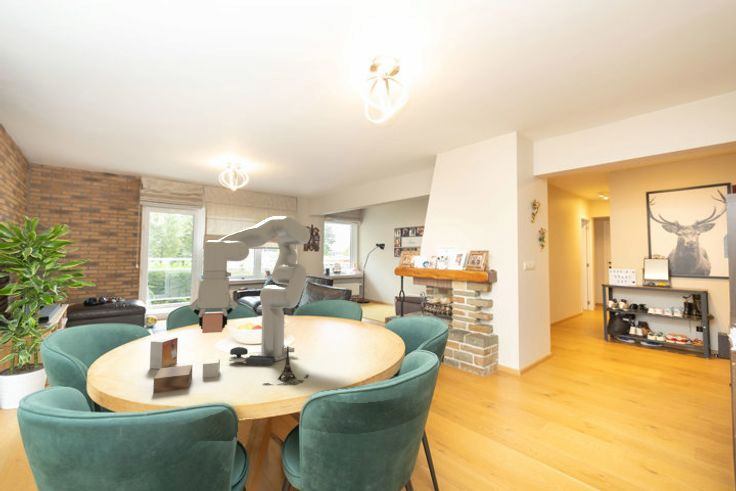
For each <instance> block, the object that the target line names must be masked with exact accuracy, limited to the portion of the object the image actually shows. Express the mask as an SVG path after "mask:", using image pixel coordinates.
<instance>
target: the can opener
mask: <svg viewBox="0 0 736 491" xmlns="http://www.w3.org/2000/svg"><path fill="white" fill-rule="evenodd" d="M229 354H230V356H231V357H229V358H228V361H229V362H236V363H241V362H242V363H245V365H247V366H264V367H265V366H267V367H268V366H269V367H270V366H273V365H274V364H275V363H276V361H275V357H274V356H258V355H252V354H251V355H249V356H246V357H244V356H245V355H247V354H248V348H246V347H242V346H238V347H233V348H231V349H230V352H229ZM233 355H234V356H233Z"/></svg>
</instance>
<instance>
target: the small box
mask: <svg viewBox="0 0 736 491" xmlns="http://www.w3.org/2000/svg"><path fill="white" fill-rule="evenodd" d="M178 340H179V339H178V337H175V336H165V337H162V338H159V339H156V340H151V341H150V350H149V351H150V352H149V354H150V355H149V369H154V370H155V369H156V370H160V368H168V367H171V366H172V365H175V364H177V363H178V344H179V343H178Z"/></svg>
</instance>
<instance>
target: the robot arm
mask: <svg viewBox="0 0 736 491" xmlns="http://www.w3.org/2000/svg"><path fill="white" fill-rule="evenodd" d="M274 238H275V240H276V242H277V245H278V249H279V250H278V251H279V252H278V253H279V254H278V257H277V259H276V262H275V264H274V268H273V270H272V273H271V280H272V282H273V283H275V284H269V285H266V286H264V287H263V288H262V289H261V291H260V293H259V299H260V306H261V315H262V316H261V342H260V343H261V345H260V346H261V350H260V353H258V354H257V356H274V357H275V362H278V361H282V360H286V356H287V347H289V353H295V347H292V346H285V313H284V311H283V308H285V309H294V308H295V307H296V306H297V305H298V304H299V301H300V299H301V296H302V293H303V291H304V286H305V284H306V282H307V270H306V267H305V266H304V265H303V264H299V263H297V262H298V261H297V260H298V253H297V251H296V249H295V247H294V246H295V245H299V246H300V245H305V244H307V243H309V242H310V239H311V232H310V230H309V228H308V227H307V226H306V225H304V224H302V223H301V221H298V220H297V219H295V218H294V217H292V216H271V217H268V218H266V219H265V220H262V221H260V222H259V223H257V224H255V225H253V226H251V227H248V228H246V229H242V230H239V231H237V232H233V233H231V234H228V235H226V236H224V237H222V238H220V239H218V240H207V241H205V242H204V243H203V261H202V262H203V264H202V266H203V267H202V279H201V280H200V281H199V284H198V285H199V286H198V291H197V292H198V293H197V298H196V299H195V300H194V301H193V302H192V303H191V304H190V305H189V306H188V308H189V309H190V310H191V311H192V312H193V313H194V314H196V316H197V317H198V318H199V319H198V326H199V327H200V329H201V330H202V323H203V315H204V313H205V312H206V310H216V309H217V310H218V309H220V310H221V312H223V321H222V328H224V329H225V327H226V326H228V316H229V315H230V314H231V313H232V312H233V311H234V310H235V309H236V308H237V307H238V303H237V302H236V301H235V300H234V298H232V297H231V285H230V284H231V283H230V280H229V277H232V272H230V271H228V269H227V268H228V262H241V261H244V260H246V259H247V258H248V257H249V254H250V249H254V248H258V247H261V246H263V245H265V244H267V243H268V242H270V241H271V240H274ZM196 305H197V307H196ZM230 305H231V306H230ZM229 306H230V307H229Z"/></svg>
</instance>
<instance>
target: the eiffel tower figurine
mask: <svg viewBox="0 0 736 491" xmlns="http://www.w3.org/2000/svg"><path fill="white" fill-rule="evenodd" d="M286 347H287V356H286V358H285V364H284V367H283V370H281V374H280V375H279V376H278V377H277V378H276V380H277V381H279V382H281V383H279V384H277V386H298V385H300V384H303V383H304V382H305V379H308V378H309V375H310V374H305V376H304V377H303V379H298V378H297V376H296V375H295V374H294V371H293V370H292V367H291V363H290V352H289V347H290V346H286ZM262 386H273V384H271V383H270V382H265V383H263V384H262Z"/></svg>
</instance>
